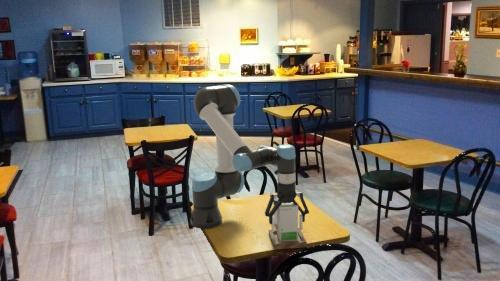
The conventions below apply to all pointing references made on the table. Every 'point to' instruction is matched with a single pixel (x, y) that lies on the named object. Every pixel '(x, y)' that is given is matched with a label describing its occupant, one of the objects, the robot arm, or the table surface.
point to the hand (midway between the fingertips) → (287, 229)
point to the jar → (276, 211)
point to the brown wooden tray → (287, 244)
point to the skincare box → (287, 222)
